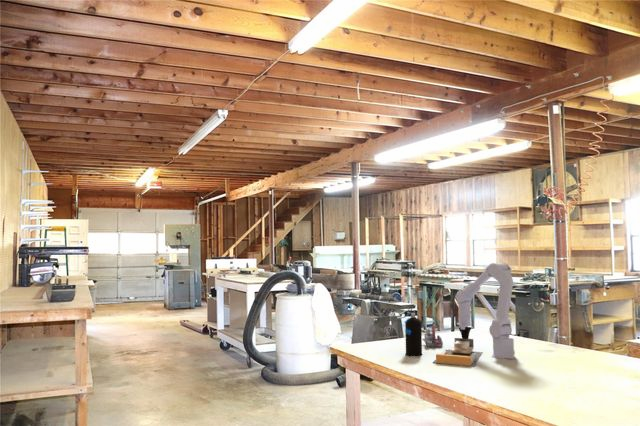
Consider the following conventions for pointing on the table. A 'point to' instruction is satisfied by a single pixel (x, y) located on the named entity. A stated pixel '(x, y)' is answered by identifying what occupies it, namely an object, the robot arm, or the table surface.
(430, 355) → the table surface
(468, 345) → the grey beige angular piece
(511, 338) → the robot arm
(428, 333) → the brake caliper
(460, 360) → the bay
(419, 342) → the aerosol can
